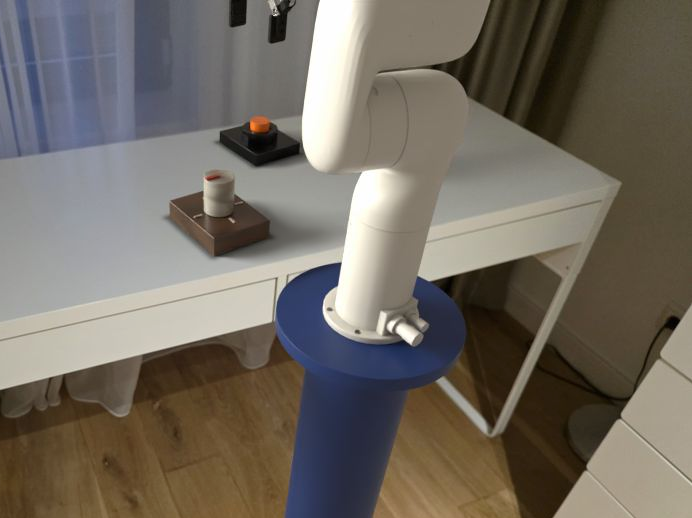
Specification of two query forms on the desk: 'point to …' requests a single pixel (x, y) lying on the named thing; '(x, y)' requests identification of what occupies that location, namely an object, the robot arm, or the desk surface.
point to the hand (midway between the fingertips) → (256, 33)
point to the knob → (219, 193)
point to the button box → (259, 144)
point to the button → (260, 124)
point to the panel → (219, 223)
